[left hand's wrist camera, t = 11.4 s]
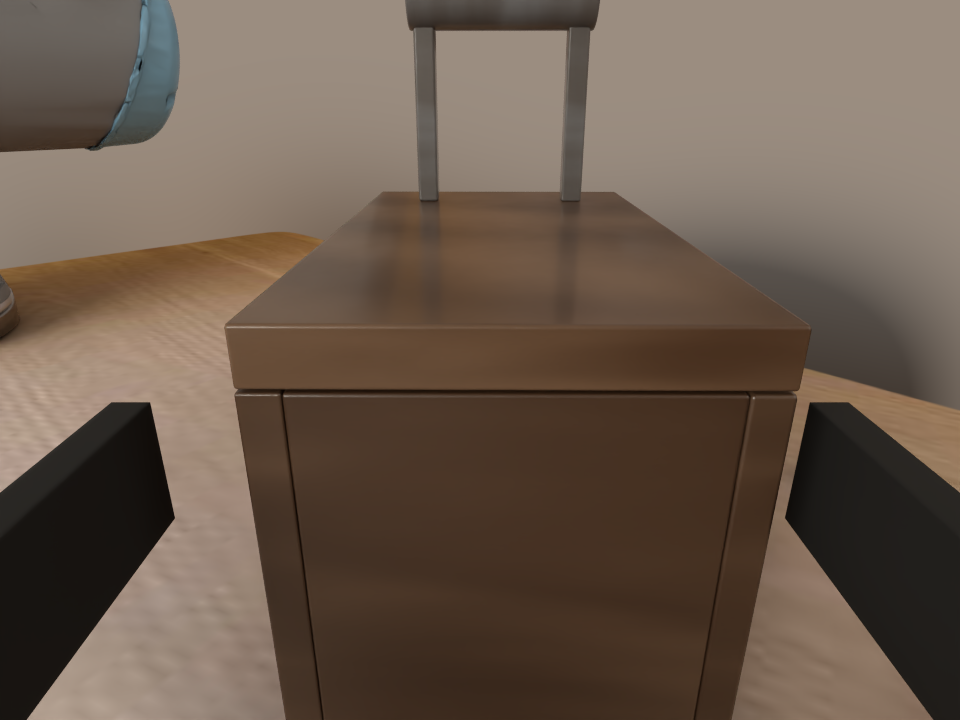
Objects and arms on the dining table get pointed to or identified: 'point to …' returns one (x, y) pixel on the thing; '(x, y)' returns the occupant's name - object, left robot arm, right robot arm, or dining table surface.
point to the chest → (512, 548)
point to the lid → (511, 275)
